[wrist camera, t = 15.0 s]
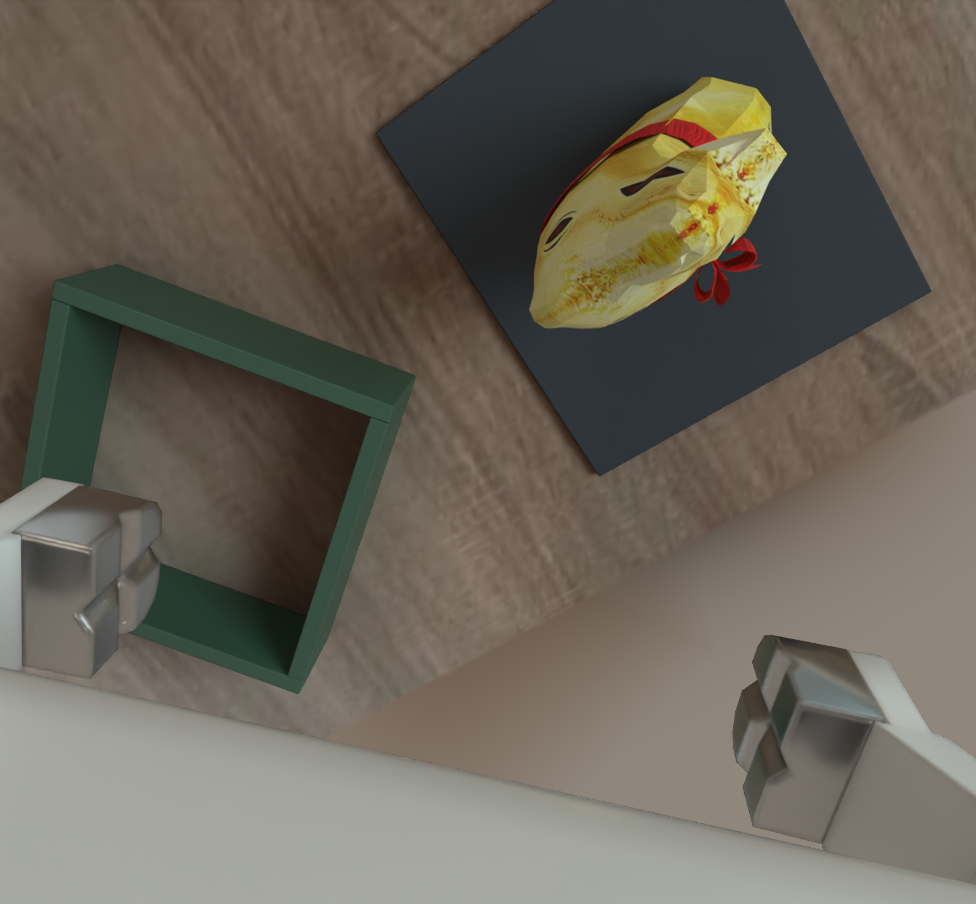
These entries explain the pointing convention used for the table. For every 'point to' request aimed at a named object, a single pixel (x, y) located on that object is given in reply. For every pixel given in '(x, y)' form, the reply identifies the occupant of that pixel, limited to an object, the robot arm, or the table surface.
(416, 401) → the table surface
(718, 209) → the chocolate bunny
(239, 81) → the table surface
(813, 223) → the mat
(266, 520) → the table surface
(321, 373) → the crate
